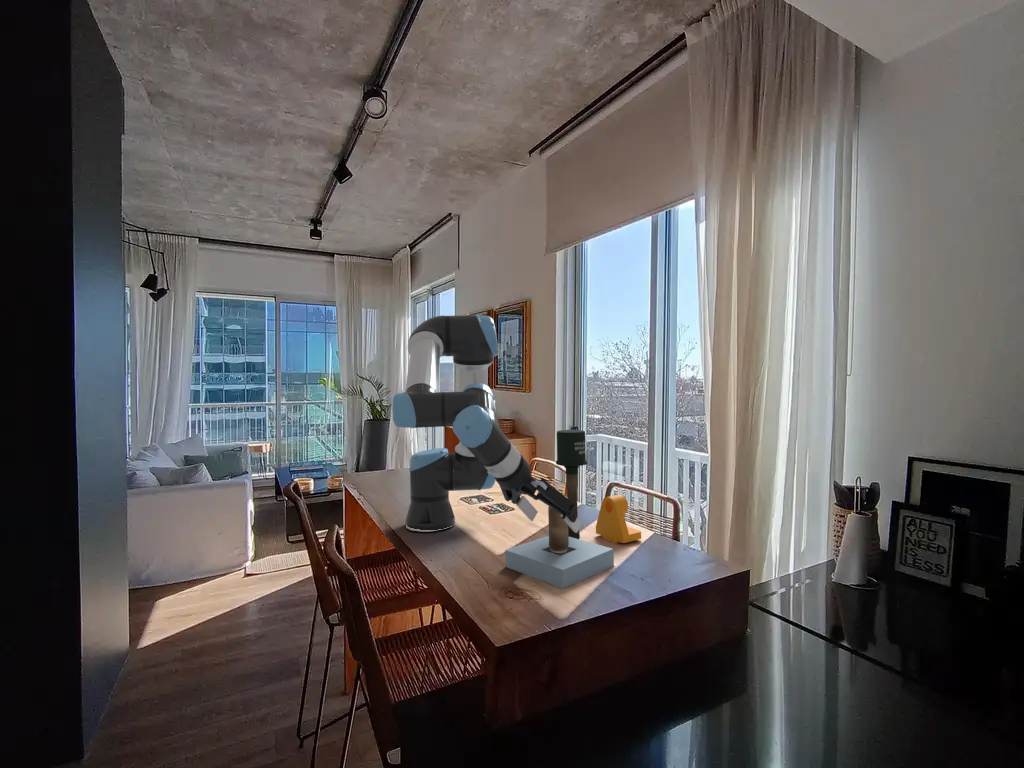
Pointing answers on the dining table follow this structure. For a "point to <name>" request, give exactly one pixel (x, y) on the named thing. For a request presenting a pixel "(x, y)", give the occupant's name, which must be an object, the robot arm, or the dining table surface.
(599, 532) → the bracket
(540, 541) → the socket plate
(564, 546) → the peg
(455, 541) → the dining table surface
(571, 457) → the potato masher grenade
